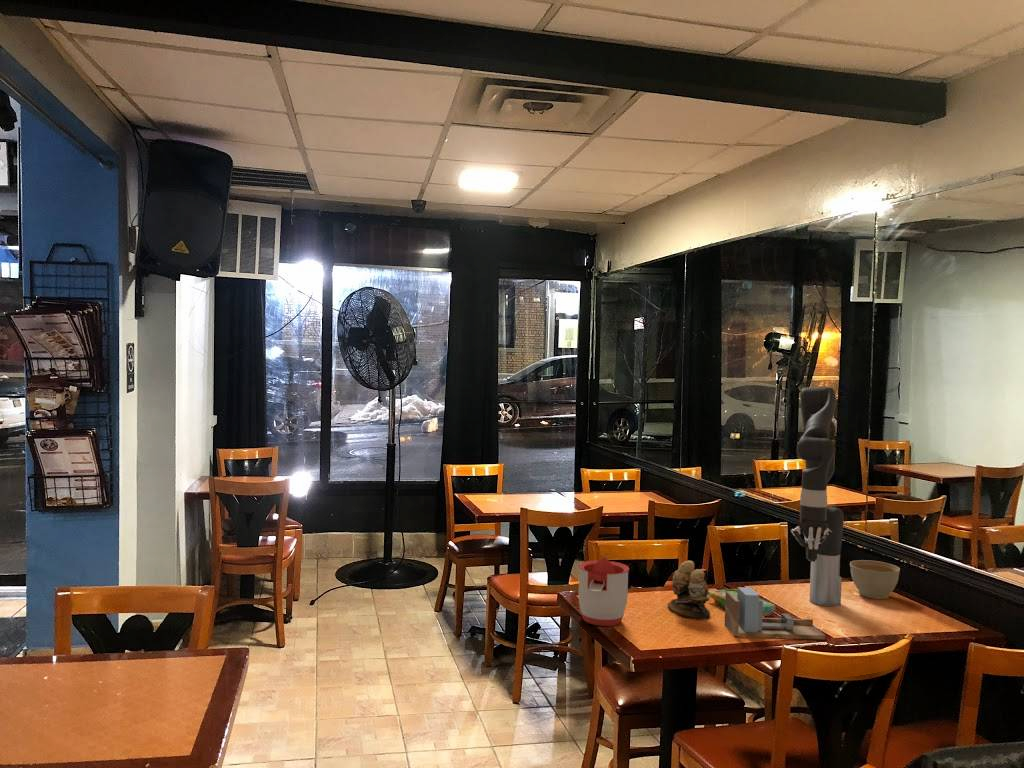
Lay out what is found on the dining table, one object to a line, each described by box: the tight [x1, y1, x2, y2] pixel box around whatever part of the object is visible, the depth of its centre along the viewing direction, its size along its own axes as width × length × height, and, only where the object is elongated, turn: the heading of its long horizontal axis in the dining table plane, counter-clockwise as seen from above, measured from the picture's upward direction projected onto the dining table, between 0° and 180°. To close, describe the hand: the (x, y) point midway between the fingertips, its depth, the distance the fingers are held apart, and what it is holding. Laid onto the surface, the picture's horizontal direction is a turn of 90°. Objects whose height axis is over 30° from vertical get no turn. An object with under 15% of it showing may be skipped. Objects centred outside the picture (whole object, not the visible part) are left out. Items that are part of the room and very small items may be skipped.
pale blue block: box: [737, 586, 760, 632], centre depth 229 cm, size 4×8×11 cm, turn 0°
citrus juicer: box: [578, 556, 630, 628], centre depth 233 cm, size 16×17×20 cm
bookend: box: [758, 597, 795, 631], centre depth 229 cm, size 11×8×9 cm
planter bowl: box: [849, 559, 901, 600], centre depth 271 cm, size 16×16×11 cm
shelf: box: [724, 591, 826, 640], centre depth 229 cm, size 27×10×11 cm, turn 90°
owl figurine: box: [667, 560, 711, 621], centre depth 245 cm, size 18×12×17 cm, turn 21°
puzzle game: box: [707, 588, 776, 618], centre depth 251 cm, size 12×5×20 cm
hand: (811, 560), depth 228 cm, fingers closed
